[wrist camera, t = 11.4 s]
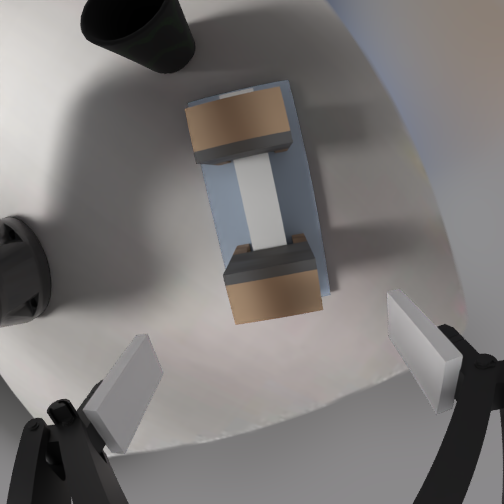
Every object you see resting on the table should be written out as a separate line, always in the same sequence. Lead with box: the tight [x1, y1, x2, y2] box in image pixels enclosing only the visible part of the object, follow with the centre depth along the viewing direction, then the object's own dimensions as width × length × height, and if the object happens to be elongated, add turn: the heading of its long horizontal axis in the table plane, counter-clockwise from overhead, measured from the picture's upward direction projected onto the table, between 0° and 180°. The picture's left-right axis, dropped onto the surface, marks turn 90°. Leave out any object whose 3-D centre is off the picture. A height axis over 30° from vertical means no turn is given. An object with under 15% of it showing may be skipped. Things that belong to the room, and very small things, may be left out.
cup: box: [80, 0, 195, 74], centre depth 21 cm, size 8×8×12 cm
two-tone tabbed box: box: [223, 233, 323, 325], centre depth 27 cm, size 7×4×9 cm, turn 102°
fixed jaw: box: [185, 86, 293, 166], centre depth 24 cm, size 7×4×9 cm, turn 102°
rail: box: [188, 80, 331, 297], centre depth 29 cm, size 10×22×4 cm, turn 12°
